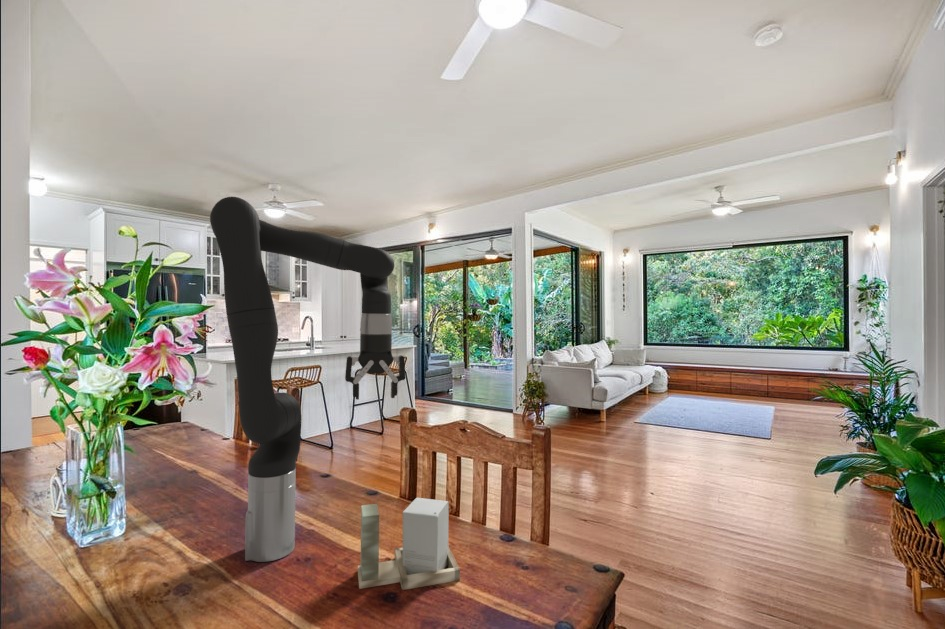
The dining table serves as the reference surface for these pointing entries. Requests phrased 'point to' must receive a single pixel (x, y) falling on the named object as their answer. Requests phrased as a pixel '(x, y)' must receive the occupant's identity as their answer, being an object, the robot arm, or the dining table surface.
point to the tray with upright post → (394, 570)
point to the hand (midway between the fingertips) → (375, 398)
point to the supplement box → (425, 536)
